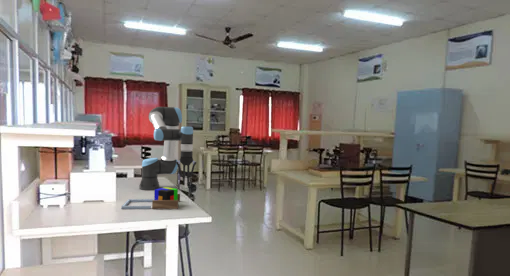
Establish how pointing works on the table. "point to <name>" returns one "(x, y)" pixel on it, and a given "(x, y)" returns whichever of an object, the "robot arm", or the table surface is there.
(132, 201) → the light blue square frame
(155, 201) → the channel
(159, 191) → the puzzle toy
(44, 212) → the table surface
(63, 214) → the table surface
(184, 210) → the table surface
